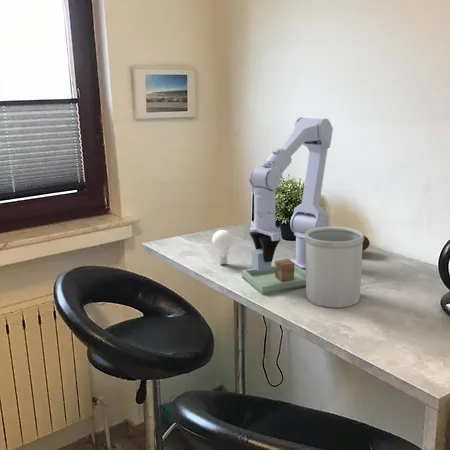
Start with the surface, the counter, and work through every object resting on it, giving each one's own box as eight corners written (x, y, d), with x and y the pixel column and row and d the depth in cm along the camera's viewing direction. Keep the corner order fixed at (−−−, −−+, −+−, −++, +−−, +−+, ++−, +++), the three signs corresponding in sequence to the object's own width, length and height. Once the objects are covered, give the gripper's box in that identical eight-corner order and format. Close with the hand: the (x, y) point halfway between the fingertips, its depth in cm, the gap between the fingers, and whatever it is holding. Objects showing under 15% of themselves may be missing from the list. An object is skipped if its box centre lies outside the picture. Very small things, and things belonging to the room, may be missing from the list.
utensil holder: (293, 292, 152) (294, 229, 147) (341, 283, 157) (343, 223, 152) (321, 313, 138) (323, 244, 134) (372, 303, 143) (376, 237, 139)
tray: (291, 269, 168) (291, 262, 168) (314, 285, 156) (315, 278, 155) (242, 277, 163) (242, 270, 162) (262, 294, 150) (262, 286, 150)
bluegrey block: (252, 266, 157) (252, 249, 156) (265, 264, 159) (265, 247, 157) (258, 271, 154) (257, 253, 152) (271, 269, 155) (271, 251, 154)
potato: (351, 248, 187) (352, 225, 185) (373, 256, 179) (374, 232, 177) (334, 252, 183) (335, 229, 181) (357, 260, 175) (358, 236, 173)
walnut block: (275, 277, 161) (275, 260, 160) (287, 275, 162) (287, 258, 161) (281, 281, 157) (281, 264, 156) (294, 279, 159) (294, 262, 157)
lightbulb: (231, 268, 171) (230, 233, 168) (210, 267, 172) (209, 232, 169) (235, 261, 177) (234, 227, 174) (215, 260, 178) (214, 227, 175)
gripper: (240, 207, 157) (241, 253, 161) (262, 219, 144) (262, 269, 148) (263, 204, 160) (263, 250, 163) (287, 216, 147) (286, 265, 150)
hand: (264, 259), depth 156 cm, fingers closed on bluegrey block, 4 cm apart
